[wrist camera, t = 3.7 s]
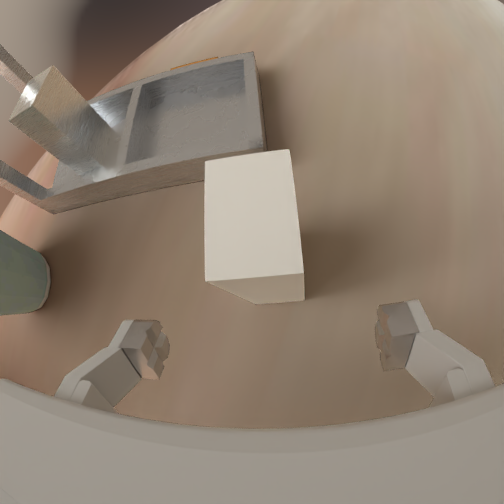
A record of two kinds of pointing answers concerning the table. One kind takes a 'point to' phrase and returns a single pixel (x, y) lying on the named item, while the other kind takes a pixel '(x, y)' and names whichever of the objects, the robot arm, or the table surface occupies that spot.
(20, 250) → the disposable coffee cup
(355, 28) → the table surface
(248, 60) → the rack
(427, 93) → the table surface
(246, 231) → the cream rectangular block
